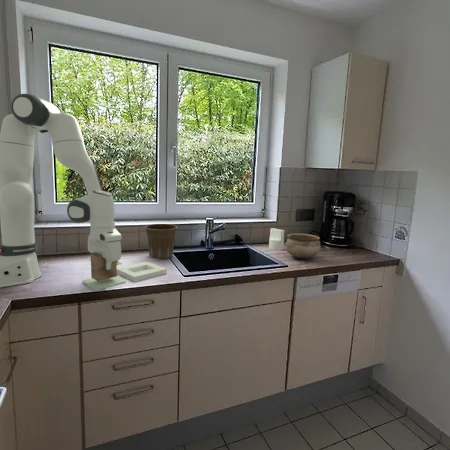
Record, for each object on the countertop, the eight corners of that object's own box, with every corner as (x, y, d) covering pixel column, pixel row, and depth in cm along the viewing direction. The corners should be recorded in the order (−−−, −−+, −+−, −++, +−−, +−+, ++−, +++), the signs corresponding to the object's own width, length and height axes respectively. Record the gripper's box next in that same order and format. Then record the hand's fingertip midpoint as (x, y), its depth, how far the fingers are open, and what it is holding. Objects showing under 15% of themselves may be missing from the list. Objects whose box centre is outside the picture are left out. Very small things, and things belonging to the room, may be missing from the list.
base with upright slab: (265, 247, 196) (266, 228, 194) (274, 246, 202) (276, 227, 200) (277, 250, 189) (278, 231, 187) (286, 248, 196) (287, 229, 194)
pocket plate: (134, 282, 127) (134, 276, 127) (115, 273, 137) (115, 268, 137) (166, 274, 139) (166, 268, 139) (146, 266, 149) (146, 261, 148)
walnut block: (97, 281, 121) (96, 255, 119) (91, 277, 124) (90, 253, 122) (116, 276, 126) (116, 252, 125) (110, 273, 130) (109, 249, 128)
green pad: (96, 291, 117) (96, 288, 117) (82, 282, 125) (82, 280, 125) (125, 283, 126) (125, 281, 126) (110, 276, 134) (110, 273, 134)
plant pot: (162, 262, 157) (163, 230, 154) (138, 257, 164) (138, 226, 162) (182, 255, 171) (183, 226, 168) (159, 250, 178) (159, 222, 176)
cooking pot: (295, 265, 161) (297, 241, 159) (273, 255, 178) (274, 234, 176) (330, 260, 173) (332, 238, 171) (306, 252, 190) (308, 232, 187)
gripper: (82, 229, 127) (84, 262, 129) (108, 238, 113) (109, 275, 115) (98, 228, 131) (98, 260, 134) (124, 236, 118) (124, 271, 120)
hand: (103, 267), depth 124 cm, fingers closed on walnut block, 5 cm apart
